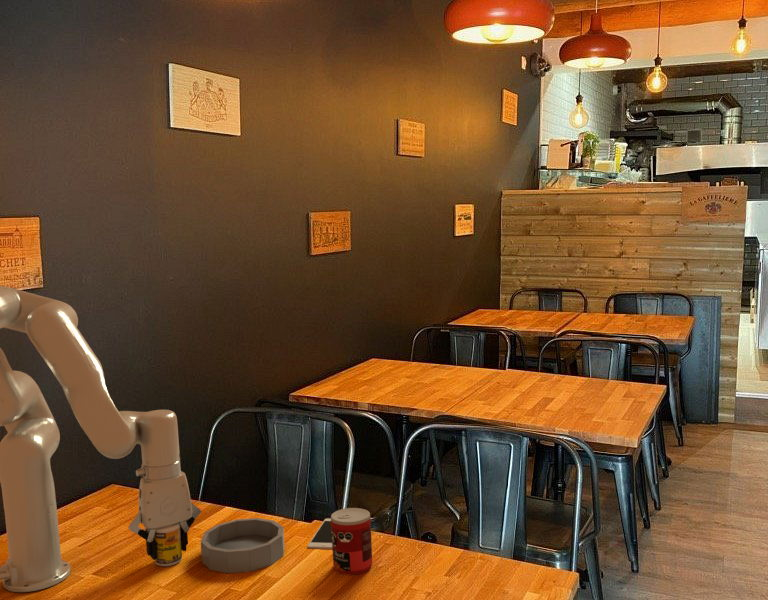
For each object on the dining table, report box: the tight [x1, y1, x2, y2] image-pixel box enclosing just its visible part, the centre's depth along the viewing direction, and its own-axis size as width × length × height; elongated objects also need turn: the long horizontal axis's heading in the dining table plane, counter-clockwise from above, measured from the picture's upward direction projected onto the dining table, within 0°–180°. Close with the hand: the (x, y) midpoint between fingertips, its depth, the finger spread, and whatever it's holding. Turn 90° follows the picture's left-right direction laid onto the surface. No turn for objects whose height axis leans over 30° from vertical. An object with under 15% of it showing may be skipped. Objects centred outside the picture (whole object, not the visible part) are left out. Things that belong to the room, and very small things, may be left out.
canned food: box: [330, 507, 373, 576], centre depth 153 cm, size 8×8×11 cm
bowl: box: [200, 517, 286, 574], centre depth 162 cm, size 17×17×4 cm
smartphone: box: [307, 518, 332, 550], centre depth 171 cm, size 7×15×1 cm, turn 169°
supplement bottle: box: [154, 523, 183, 567], centre depth 159 cm, size 6×6×10 cm
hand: (168, 552), depth 160 cm, fingers closed on supplement bottle, 5 cm apart
